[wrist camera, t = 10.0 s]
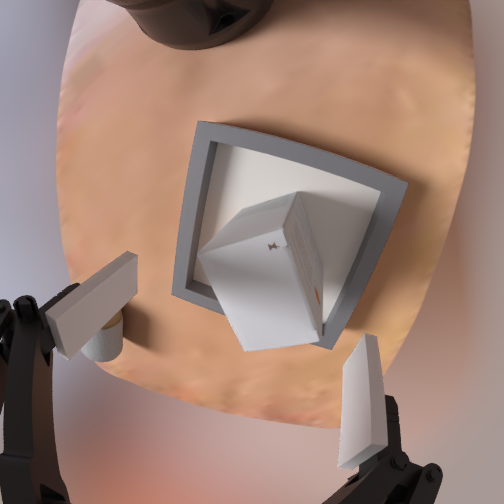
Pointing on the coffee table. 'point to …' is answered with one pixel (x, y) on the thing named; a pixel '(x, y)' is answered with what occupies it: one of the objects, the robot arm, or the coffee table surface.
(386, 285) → the coffee table surface
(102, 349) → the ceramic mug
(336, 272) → the square gray-rimmed holder
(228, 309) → the small box
